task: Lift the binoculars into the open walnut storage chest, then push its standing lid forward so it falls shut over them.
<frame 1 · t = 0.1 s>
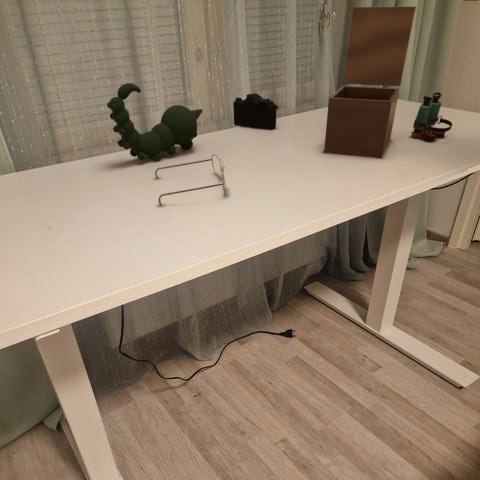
lid: (377, 47, 107), point 21 cm above the table, hinge at 100.7°
eyeglasses: (191, 188, 94), on the table
chest: (357, 146, 113), on the table
toy figurine: (165, 155, 112), on the table
film camera: (257, 125, 134), on the table
binoculars: (430, 138, 118), on the table
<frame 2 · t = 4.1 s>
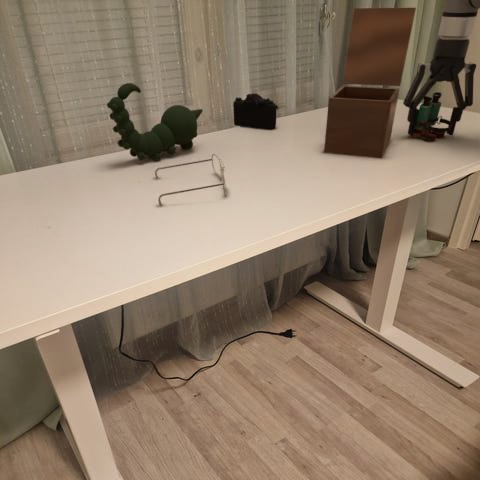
hand: (429, 134, 117), 1 cm above the table, tool pointing down, fingers closed on binoculars, 10 cm apart
lid: (377, 47, 107), point 21 cm above the table, hinge at 105.1°
binoculars: (430, 138, 118), on the table, touching gripper
everything else where it was.
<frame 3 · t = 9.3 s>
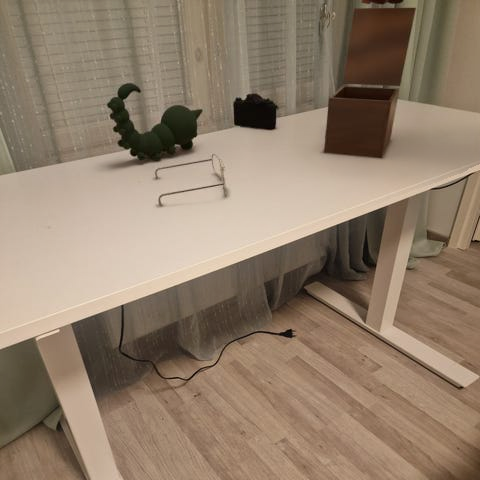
binoculars: (384, 5, 94), point 30 cm above the table, touching gripper
everything else where it was.
when the fingers open (13 cm above the table, at t = 14.8 s): binoculars stays where it is, resting on chest.
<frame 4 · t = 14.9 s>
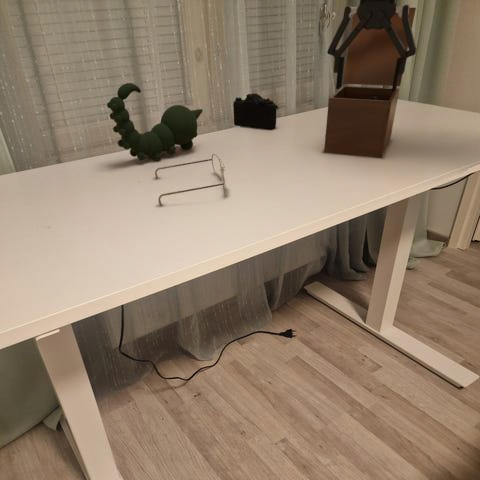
hand: (365, 89, 104), 14 cm above the table, tool pointing down, fingers open, 13 cm apart
binoculars: (361, 144, 112), point 1 cm above the table, touching chest
everything else where it was.
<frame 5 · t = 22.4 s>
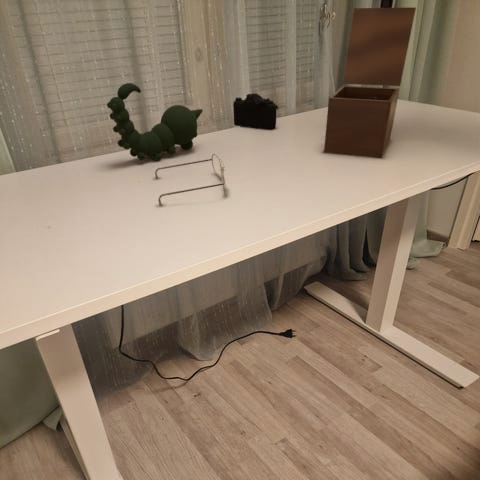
hand: (382, 30, 109), 24 cm above the table, tool pointing down, fingers closed
lid: (377, 47, 107), point 21 cm above the table, hinge at 104.6°, touching gripper
everything else where it was.
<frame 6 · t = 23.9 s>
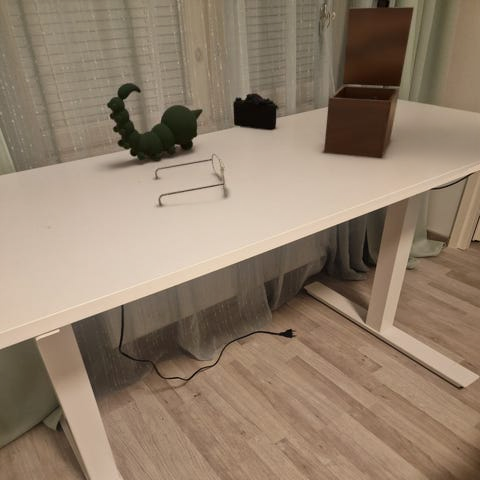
hand: (379, 33, 104), 24 cm above the table, tool pointing down, fingers closed
lid: (375, 48, 105), point 21 cm above the table, hinge at 82.6°, touching gripper
everything else where it was.
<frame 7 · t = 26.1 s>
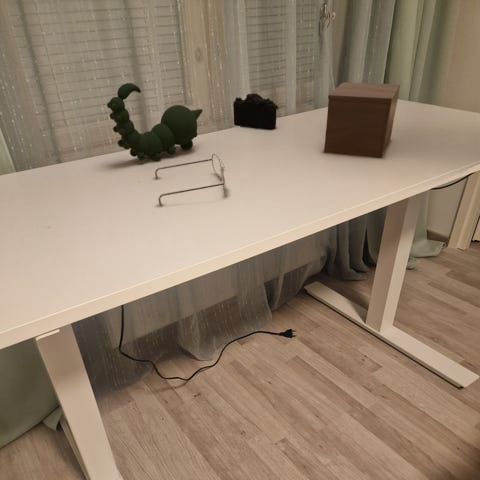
lid: (365, 91, 105), point 13 cm above the table, hinge at -0.1°
everything else where it was.
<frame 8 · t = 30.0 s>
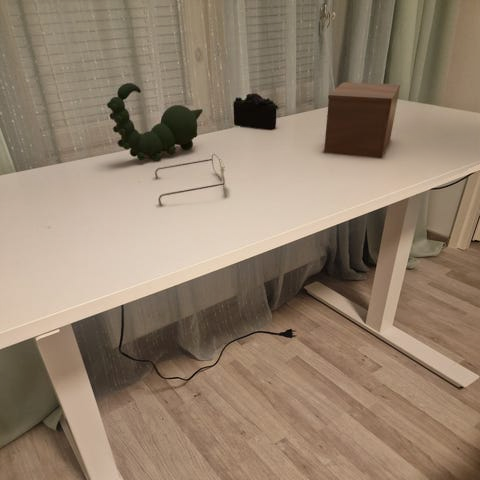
nothing on the table moved.
at the end: binoculars inside the target area in the chest (1.1 cm from its centre), point 0.6 cm above the chest's base; lid at +0° (first picture: +100°) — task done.
